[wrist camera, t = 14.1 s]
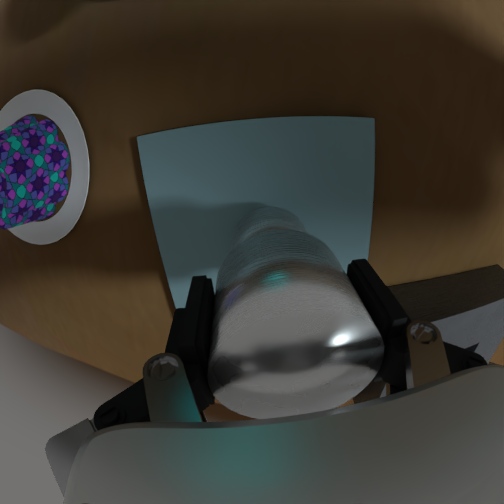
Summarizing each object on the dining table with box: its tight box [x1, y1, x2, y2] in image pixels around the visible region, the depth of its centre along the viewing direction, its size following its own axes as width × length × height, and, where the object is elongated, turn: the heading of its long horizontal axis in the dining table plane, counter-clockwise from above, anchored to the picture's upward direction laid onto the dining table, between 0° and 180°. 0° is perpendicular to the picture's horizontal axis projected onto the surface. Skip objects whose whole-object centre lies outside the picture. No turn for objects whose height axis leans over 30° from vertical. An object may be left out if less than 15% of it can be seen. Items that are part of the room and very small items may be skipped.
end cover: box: [208, 207, 384, 419], centre depth 12 cm, size 6×6×10 cm
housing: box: [353, 265, 504, 404], centre depth 22 cm, size 16×16×5 cm
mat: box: [137, 116, 375, 309], centre depth 18 cm, size 14×14×1 cm
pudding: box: [0, 90, 89, 245], centre depth 13 cm, size 12×12×5 cm
